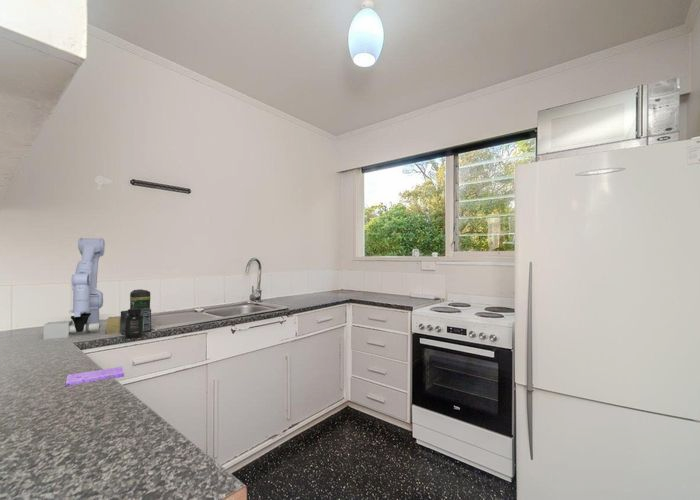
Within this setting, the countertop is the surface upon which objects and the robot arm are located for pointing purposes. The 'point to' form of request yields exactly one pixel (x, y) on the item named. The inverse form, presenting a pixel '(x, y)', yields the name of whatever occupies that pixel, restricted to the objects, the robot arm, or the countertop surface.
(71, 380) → the sponges
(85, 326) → the tube
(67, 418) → the countertop surface
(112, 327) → the socket
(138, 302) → the coffee jar
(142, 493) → the countertop surface
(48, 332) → the light grey block
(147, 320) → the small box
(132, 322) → the supplement bottle
